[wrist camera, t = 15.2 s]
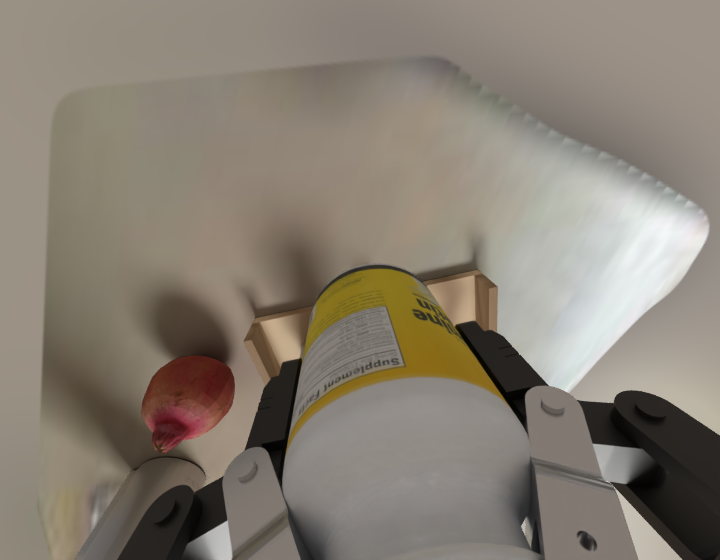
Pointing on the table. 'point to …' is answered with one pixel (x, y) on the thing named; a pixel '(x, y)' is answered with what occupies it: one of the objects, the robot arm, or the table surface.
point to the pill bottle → (401, 432)
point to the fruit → (186, 400)
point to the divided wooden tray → (289, 329)
